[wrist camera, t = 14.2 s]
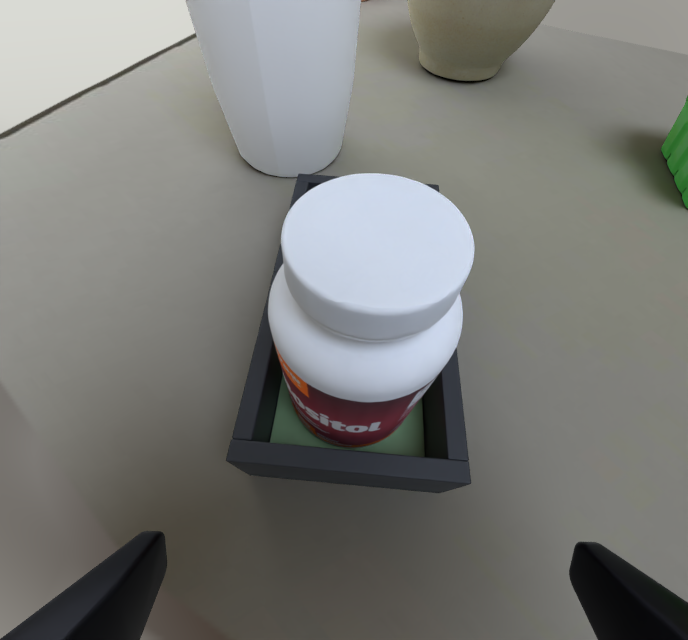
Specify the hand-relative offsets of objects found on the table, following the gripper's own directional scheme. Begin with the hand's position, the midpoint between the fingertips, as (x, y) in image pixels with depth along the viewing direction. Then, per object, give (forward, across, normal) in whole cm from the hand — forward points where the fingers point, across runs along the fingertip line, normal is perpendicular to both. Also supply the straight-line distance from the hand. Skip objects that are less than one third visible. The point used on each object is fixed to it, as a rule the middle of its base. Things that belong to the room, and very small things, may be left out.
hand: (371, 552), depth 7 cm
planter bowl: (+40, -12, -28) cm, 51 cm away
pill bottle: (+10, 0, +1) cm, 10 cm away
